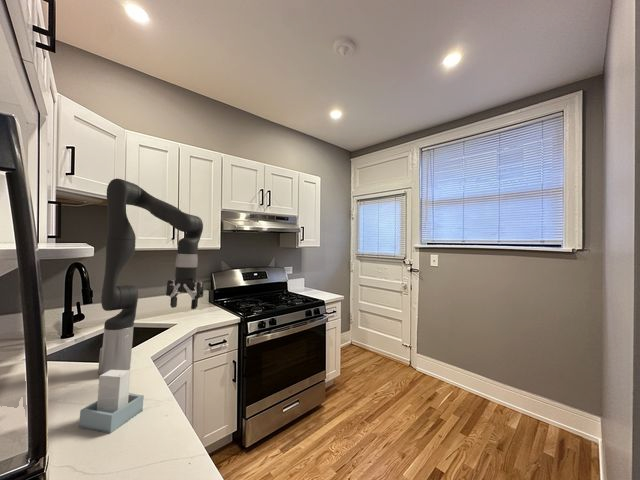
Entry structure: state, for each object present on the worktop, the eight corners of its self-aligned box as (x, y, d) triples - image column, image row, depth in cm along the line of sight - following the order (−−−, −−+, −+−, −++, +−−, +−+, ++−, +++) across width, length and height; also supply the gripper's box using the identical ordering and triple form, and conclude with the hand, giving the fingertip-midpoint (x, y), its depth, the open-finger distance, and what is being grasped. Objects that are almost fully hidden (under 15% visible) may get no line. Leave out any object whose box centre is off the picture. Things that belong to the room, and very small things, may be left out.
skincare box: (128, 412, 76) (131, 370, 77) (116, 421, 72) (120, 376, 73) (107, 411, 76) (110, 369, 77) (94, 420, 72) (98, 375, 73)
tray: (78, 427, 70) (80, 409, 70) (114, 406, 80) (115, 391, 80) (110, 433, 68) (111, 415, 68) (142, 410, 78) (143, 395, 78)
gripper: (209, 266, 104) (206, 307, 103) (177, 264, 106) (174, 305, 105) (197, 267, 96) (194, 311, 95) (163, 265, 99) (159, 308, 98)
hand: (183, 308), depth 100 cm, fingers open, 8 cm apart
